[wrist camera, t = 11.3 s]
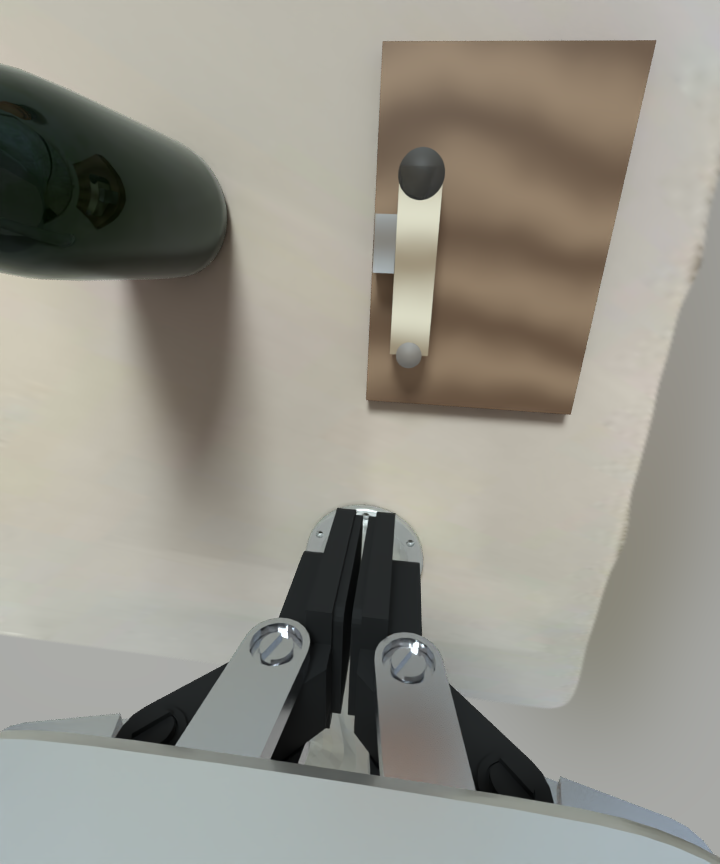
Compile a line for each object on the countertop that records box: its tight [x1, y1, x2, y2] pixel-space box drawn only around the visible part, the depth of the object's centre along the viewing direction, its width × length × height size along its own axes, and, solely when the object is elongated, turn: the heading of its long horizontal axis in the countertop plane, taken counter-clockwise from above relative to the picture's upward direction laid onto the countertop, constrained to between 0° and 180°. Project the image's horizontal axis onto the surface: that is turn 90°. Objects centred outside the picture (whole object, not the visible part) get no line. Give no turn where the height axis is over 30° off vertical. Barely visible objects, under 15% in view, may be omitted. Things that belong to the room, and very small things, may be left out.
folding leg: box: [390, 147, 445, 368], centre depth 33 cm, size 15×3×3 cm, turn 178°
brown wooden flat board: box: [366, 40, 656, 415], centre depth 33 cm, size 26×18×4 cm
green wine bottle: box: [0, 63, 227, 281], centre depth 22 cm, size 10×10×33 cm
